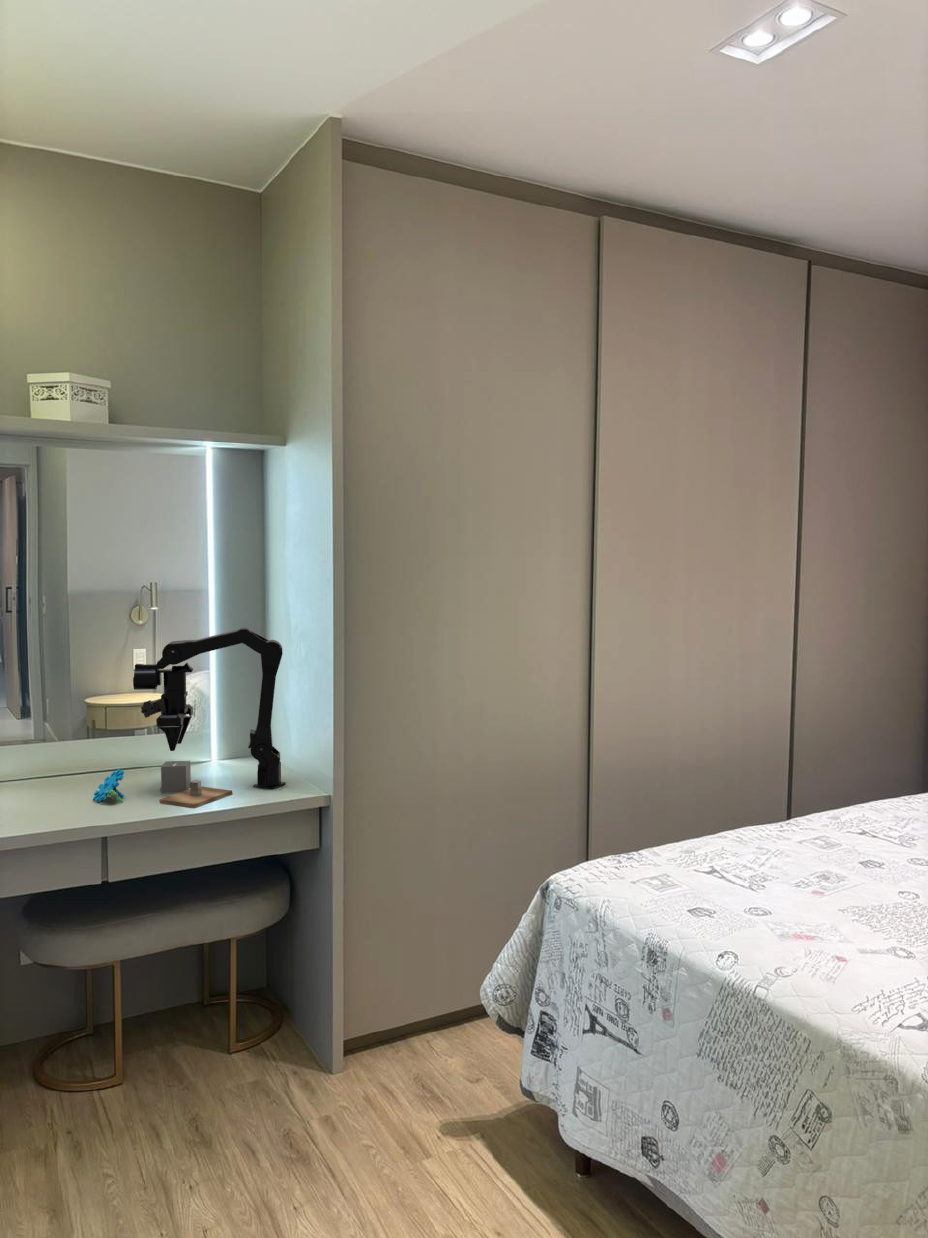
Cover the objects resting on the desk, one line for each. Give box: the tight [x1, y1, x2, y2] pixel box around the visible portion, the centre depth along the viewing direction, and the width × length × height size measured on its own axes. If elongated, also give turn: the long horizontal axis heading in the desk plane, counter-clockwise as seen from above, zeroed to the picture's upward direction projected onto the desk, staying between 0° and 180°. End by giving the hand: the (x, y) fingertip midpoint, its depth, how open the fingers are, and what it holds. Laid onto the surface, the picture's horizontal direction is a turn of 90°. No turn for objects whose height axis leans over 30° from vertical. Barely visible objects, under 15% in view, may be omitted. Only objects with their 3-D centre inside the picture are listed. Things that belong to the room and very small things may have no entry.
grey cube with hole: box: [160, 760, 192, 794], centre depth 256 cm, size 6×6×7 cm
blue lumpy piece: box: [92, 768, 125, 804], centre depth 246 cm, size 11×6×10 cm
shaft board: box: [159, 779, 233, 809], centre depth 247 cm, size 15×11×4 cm
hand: (175, 747), depth 256 cm, fingers open, 9 cm apart
